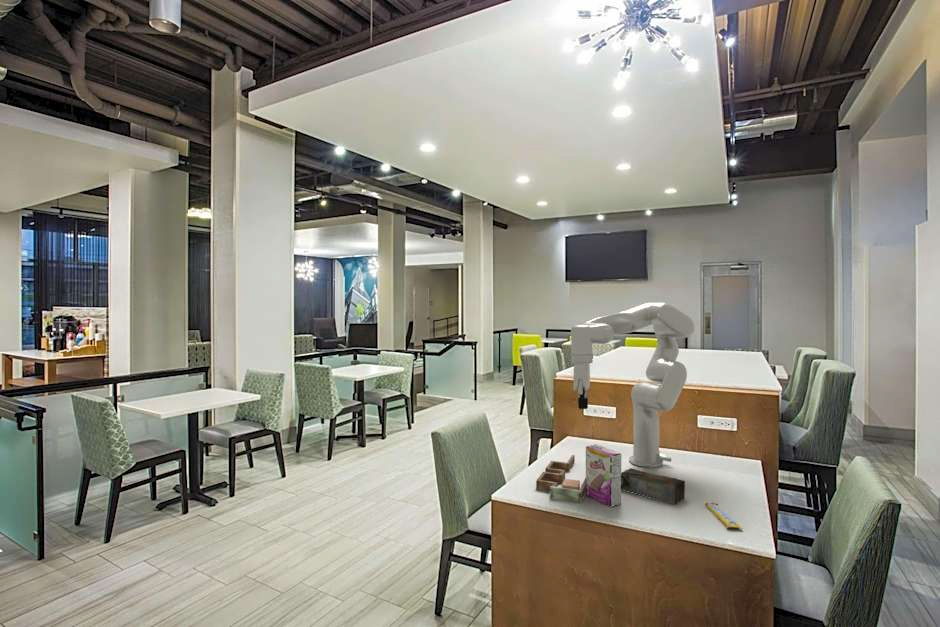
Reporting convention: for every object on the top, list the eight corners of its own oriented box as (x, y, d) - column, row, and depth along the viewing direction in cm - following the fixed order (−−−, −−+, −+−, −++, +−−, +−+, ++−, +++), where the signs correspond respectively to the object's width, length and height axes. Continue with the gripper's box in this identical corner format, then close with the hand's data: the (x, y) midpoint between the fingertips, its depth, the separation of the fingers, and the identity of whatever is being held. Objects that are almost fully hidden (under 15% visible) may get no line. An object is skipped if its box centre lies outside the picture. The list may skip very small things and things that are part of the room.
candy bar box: (584, 495, 162) (584, 446, 162) (595, 492, 165) (595, 443, 165) (610, 507, 153) (611, 455, 153) (621, 504, 156) (622, 452, 155)
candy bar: (703, 507, 155) (703, 501, 155) (717, 507, 154) (717, 501, 154) (727, 532, 138) (727, 525, 138) (742, 532, 138) (743, 526, 138)
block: (579, 492, 166) (579, 480, 166) (577, 499, 160) (577, 487, 160) (564, 490, 167) (564, 478, 167) (562, 497, 162) (562, 485, 162)
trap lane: (598, 465, 192) (598, 456, 192) (581, 502, 157) (581, 491, 157) (557, 460, 198) (557, 451, 198) (531, 495, 163) (532, 484, 163)
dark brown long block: (630, 483, 174) (630, 465, 173) (686, 499, 160) (686, 479, 160) (619, 490, 168) (619, 470, 168) (676, 506, 155) (676, 485, 154)
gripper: (574, 355, 190) (575, 403, 190) (568, 361, 176) (569, 412, 176) (594, 356, 187) (595, 404, 188) (589, 361, 173) (591, 413, 174)
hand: (583, 408), depth 182 cm, fingers closed
